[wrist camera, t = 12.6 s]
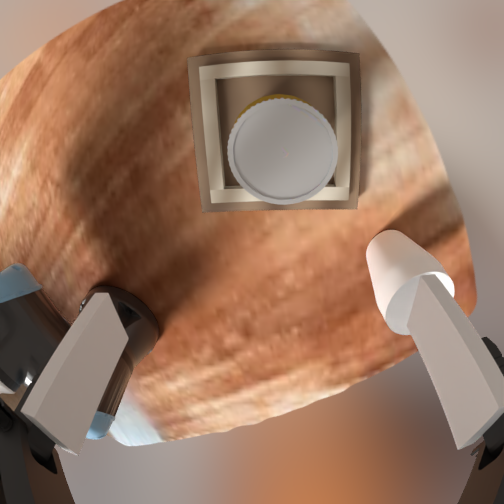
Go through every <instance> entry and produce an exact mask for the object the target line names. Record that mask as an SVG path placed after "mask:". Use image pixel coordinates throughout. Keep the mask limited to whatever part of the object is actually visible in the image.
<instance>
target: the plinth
mask: <svg viewBox="0 0 504 504" xmlns="http://www.w3.org/2000/svg"><path fill="white" fill-rule="evenodd" d="M187 63H188V78H189V91H190V104H191V115H192V126H193V136H194V146H195V155H196V165H197V173H198V182H199V190H200V198H201V206H202V213H203V212H225V211H253V210H298V209H357V207H358V195H359V179H360V159H361V79H360V60H359V53H350V52H339V51H326V50H303V49H273V50H251V51H237V52H226V53H217V54H209V55H202V56H195V57H189V58H187ZM274 94H283V95H292V96H295V97H298V98H300V99H302V100H304V101H306V102H308V103H309V104H311V105H312V106H313V107H314V108H315V109H316V110H318V111H319V113H320V114H323V117H324V118H325V119H327V120H328V123H329V124H330V125H331V128H332V129H333V130H334V134H335V136H336V141H337V146H338V160H337V165H336V168H335V171H334V173H333V175H332V177H331V179H330V180H329V182H328V183H327V184H326V186H325V187H324V188H323V189H322V190H321V191H320V192H318V193H317V194H316V195H314V196H313V197H311V198H309V199H307V200H305V201H302V202H299V203H295V204H287V205H280V204H272V203H268V202H265V201H262V200H260V199H258V198H256V197H254V196H253V195H251V194H250V193H248V192H247V191H246V190H245V189H244V188H243V187H242V186H241V185H240V184H239V183H238V182H237V180H236V178H235V177H234V175H233V173H232V171H231V168H230V166H229V161H228V155H227V152H228V149H227V146H228V140H229V138H230V137H229V135H230V134H231V130H232V128H233V126H234V123H235V121H236V119H237V117H238V115H239V114H240V113H241V112H242V111H243V110H244V109H245V107H246V106H247V105H249V104H250V103H252V102H254V101H255V100H257V99H259V98H261V97H264V96H269V95H274Z"/></svg>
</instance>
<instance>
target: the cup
mask: <svg viewBox="0 0 504 504" xmlns="http://www.w3.org/2000/svg"><path fill="white" fill-rule="evenodd" d="M366 259H367V263H368V267H369V271H370V275H371V280H372V284H373V288H374V293H375V297H376V302H377V305H378V308H379V310H380V312H381V313H382V315H383V317H384V319H385V321H386V323H387V325H388V327H389V328H390V329H391V330H392V331H393V332H395V333H397V334H401V335H411V334H410V332H409V329H408V327H407V323H408V319H409V316H410V313H411V309H412V306H413V302H414V299H415V295H416V291H417V287H418V283H419V279H420V276H422V275H431V274H435V275H436V276H437V277H438V279H439V280H440V281H441V282H442V284H443V285H444V286H445V288H446V289H447V290H448V292H449V293H450V294H451V296H452V297H454V285H453V282H452V280H451V279H450V277H449V276H448V274H447V273H446V271H445V270H444V268H443V266H442V265H441V263H440V262H439V261H438V260H437V259H436V258H434V257H433V256H432V255H431V254H429V253H428V252H427V251H426V250H424V249H423V248H422V247H420V246H419V245H418V244H416V243H415V242H414V241H412V240H411V239H410V238H408V237H407V236H406V235H404V234H403V233H402V232H400V231H397V230H386V231H383V232H381V233H379V234H378V235H376V236H375V237H374V238H373V239H372V240H371V242H370V243H369V245H368V247H367V251H366Z"/></svg>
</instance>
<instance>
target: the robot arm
mask: <svg viewBox="0 0 504 504" xmlns="http://www.w3.org/2000/svg"><path fill="white" fill-rule="evenodd" d="M42 288H43V286H42V285H41V284H39V283H38V282H37V280H36V279H35V278H34V276H33V275H32V274H31V272H30V271H29V269H28V268H27V267H26V266H25V265H23V264H21V263H14V264H12V265H10V266H9V267H7V268H6V269H4V270H3V271H1V272H0V394H1V393H8V394H14V393H15V392H16V391H17V390H18V389H19V387H20V386H21V385H22V384H23V385H24V386H25V387H26V388H27V389H26V391H25V393H24V395H23V396H22V398H21V400H20V402H19V404H18V406H17V407H16V409H15V411H13V410H12V409H11V408H10V407H9V406H8V405H7V404H6V403H5V402H4V401H3V400H2V398H1V397H0V504H75V502H74V500H73V497H72V495H71V492H70V489H69V486H68V484H67V481H66V478H65V475H64V472H63V469H62V466H61V462H60V459H59V455H58V453H57V451H56V449H55V448H54V446H55V444H57V445H58V446H59V447H60V448H62V449H63V450H64V451H67V452H69V453H72V454H74V455H77V456H79V454H80V451H81V449H82V446H83V443H84V441H85V438H89V439H101V438H103V437H105V436H106V434H107V433H108V430H109V428H110V426H111V424H112V422H113V421H114V420H115V415H116V412H117V410H118V407H119V405H120V402H121V399H122V397H123V394H124V392H125V389H126V386H127V384H128V382H129V379H130V377H131V374H132V372H133V370H134V368H135V367H136V366H137V365H138V364H139V363H140V362H141V361H142V360H143V358H144V357H145V356H146V355H148V354H149V353H150V352H151V351H152V350H153V348H154V346H155V344H156V342H157V339H158V336H159V327H158V324H157V321H156V319H155V317H154V315H153V314H152V312H151V311H150V310H149V309H148V307H147V306H146V305H145V304H144V303H143V302H141V301H140V300H139V299H138V298H136V297H135V296H133V295H132V294H130V293H128V292H126V291H124V290H122V289H119V288H116V287H112V286H99V287H96V288H94V289H92V290H91V291H90V292H89V293H88V294H87V295H86V297H85V298H84V299H83V301H82V303H81V305H80V310H79V314H78V317H77V319H76V320H75V322H74V323H73V325H72V326H70V324H69V323H68V322H67V321H66V320H65V318H64V317H63V316H62V315H61V313H60V312H59V311H58V309H57V308H56V307H55V305H54V304H53V303H52V301H51V300H50V299H49V297H48V296H47V294H46V293H45V292H44V290H43V289H42ZM407 327H408V329H409V332H410V334H411V336H412V338H413V340H414V342H415V344H416V346H417V348H418V350H419V352H420V355H421V357H422V359H423V361H424V363H425V366H426V368H427V370H428V372H429V375H430V377H431V379H432V382H433V384H434V387H435V389H436V391H437V394H438V396H439V399H440V401H441V404H442V407H443V409H444V412H445V414H446V417H447V420H448V423H449V426H450V428H451V431H452V434H453V437H454V440H455V443H456V446H457V449H458V450H459V449H461V448H464V447H466V446H468V445H470V444H473V443H474V442H475V441H476V440H477V439H479V438H480V437H481V436H482V435H483V437H484V441H483V442H482V443H480V444H479V445H478V446H477V447H476V448H475V449H474V450H473V451H472V453H471V455H474V454H475V453H476V452H477V451H479V452H478V454H477V455H476V457H477V458H476V461H475V464H474V466H473V469H472V472H471V474H470V477H469V479H468V482H467V484H466V486H465V489H464V491H463V493H462V496H461V498H460V500H459V502H458V504H504V357H502V354H501V352H500V351H499V349H498V348H497V346H496V345H495V344H494V343H493V342H492V341H491V340H490V339H488V338H487V337H484V338H480V336H479V335H478V333H477V331H476V330H475V328H474V327H473V325H472V324H471V322H470V321H469V319H468V318H467V317H466V315H465V314H464V312H463V311H462V309H461V308H460V307H459V305H458V304H457V302H456V301H455V300H454V298H453V297H452V296H451V294H450V293H449V292H448V290H447V289H446V288H445V286H444V285H443V284H442V282H441V281H440V280H439V279H438V277H437V276H436V275H435V274H431V275H422V276H420V279H419V283H418V287H417V291H416V295H415V299H414V302H413V306H412V309H411V313H410V316H409V319H408V323H407Z"/></svg>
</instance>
